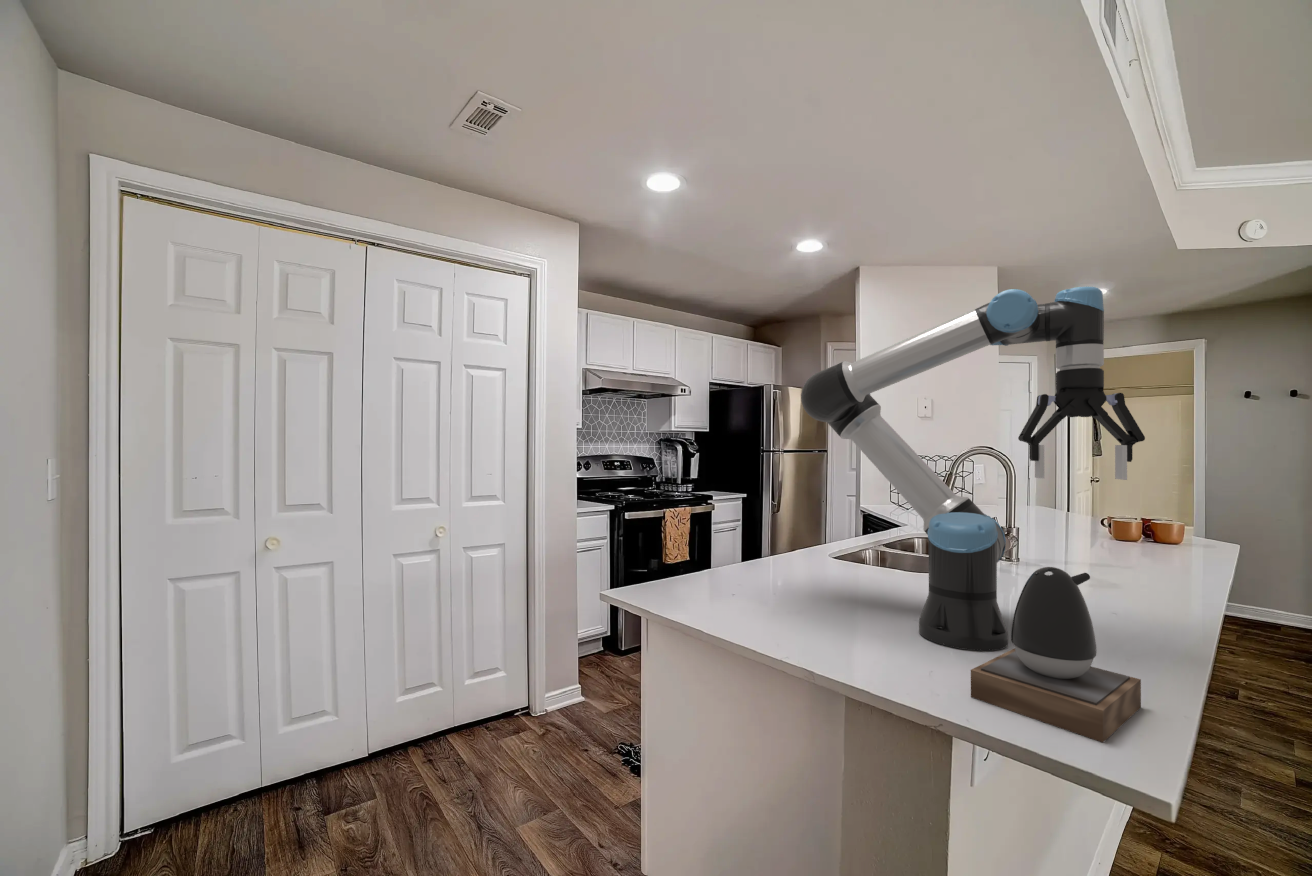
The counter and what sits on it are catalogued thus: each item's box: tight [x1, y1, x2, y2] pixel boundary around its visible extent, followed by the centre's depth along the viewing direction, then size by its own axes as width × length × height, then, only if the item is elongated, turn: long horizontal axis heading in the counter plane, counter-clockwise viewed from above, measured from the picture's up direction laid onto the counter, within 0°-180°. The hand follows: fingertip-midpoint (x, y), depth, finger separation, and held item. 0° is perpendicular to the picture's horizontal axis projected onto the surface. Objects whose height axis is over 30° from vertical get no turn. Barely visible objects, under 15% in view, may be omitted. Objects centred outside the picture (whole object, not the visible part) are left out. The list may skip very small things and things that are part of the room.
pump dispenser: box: [1010, 566, 1097, 679], centre depth 83 cm, size 10×10×15 cm
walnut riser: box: [970, 647, 1142, 743], centre depth 83 cm, size 16×16×4 cm
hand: (1079, 478), depth 111 cm, fingers open, 13 cm apart
